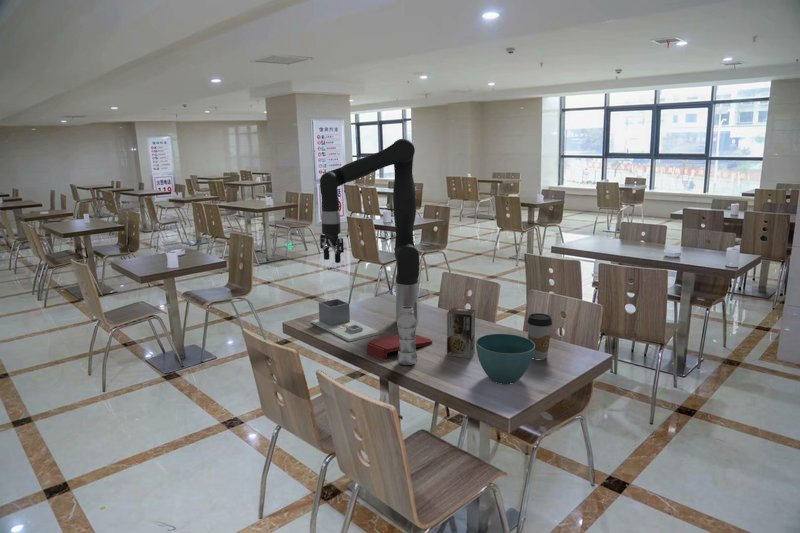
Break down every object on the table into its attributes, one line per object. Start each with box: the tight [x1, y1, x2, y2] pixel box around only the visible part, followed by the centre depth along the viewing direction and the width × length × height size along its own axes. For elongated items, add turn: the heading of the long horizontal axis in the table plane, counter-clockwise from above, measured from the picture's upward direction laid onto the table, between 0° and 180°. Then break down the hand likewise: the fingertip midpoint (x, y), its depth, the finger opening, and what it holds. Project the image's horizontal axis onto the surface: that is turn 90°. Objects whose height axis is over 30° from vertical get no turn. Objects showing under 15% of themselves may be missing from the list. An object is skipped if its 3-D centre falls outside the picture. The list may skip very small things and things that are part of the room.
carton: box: [366, 334, 433, 361], centre depth 204 cm, size 12×5×25 cm
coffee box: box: [446, 307, 476, 359], centre depth 196 cm, size 9×6×16 cm
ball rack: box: [311, 298, 380, 342], centre depth 224 cm, size 29×14×9 cm, turn 38°
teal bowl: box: [475, 333, 535, 385], centre depth 175 cm, size 18×18×12 cm
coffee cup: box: [527, 312, 553, 360], centre depth 193 cm, size 8×8×15 cm
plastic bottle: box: [396, 306, 418, 366], centre depth 187 cm, size 6×7×20 cm
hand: (332, 261), depth 227 cm, fingers open, 8 cm apart
